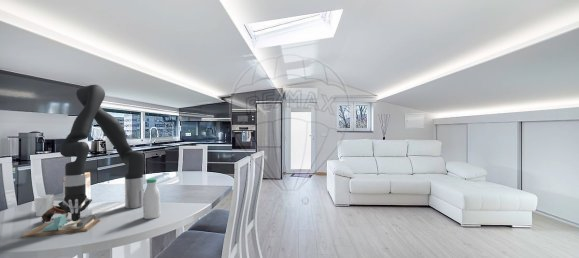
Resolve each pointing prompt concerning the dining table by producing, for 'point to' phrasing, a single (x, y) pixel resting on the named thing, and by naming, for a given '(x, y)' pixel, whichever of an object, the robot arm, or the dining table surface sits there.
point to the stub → (56, 223)
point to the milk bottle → (151, 200)
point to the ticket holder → (65, 227)
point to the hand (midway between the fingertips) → (75, 220)
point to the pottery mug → (52, 213)
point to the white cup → (43, 204)
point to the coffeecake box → (88, 189)
